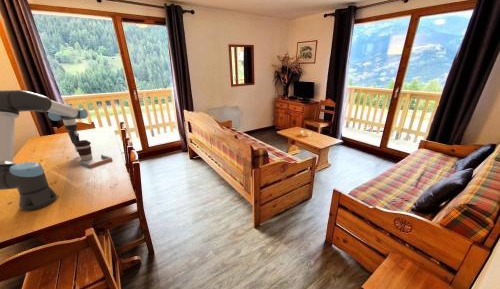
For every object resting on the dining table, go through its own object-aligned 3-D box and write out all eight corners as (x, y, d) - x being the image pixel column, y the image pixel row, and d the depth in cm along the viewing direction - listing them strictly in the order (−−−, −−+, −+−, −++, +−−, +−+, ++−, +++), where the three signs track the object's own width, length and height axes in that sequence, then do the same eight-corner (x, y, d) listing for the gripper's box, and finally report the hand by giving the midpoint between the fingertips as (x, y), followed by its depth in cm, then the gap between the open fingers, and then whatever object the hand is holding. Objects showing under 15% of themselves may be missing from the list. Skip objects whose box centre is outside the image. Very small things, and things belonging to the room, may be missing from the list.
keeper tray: (90, 167, 153) (89, 164, 152) (80, 164, 159) (79, 161, 159) (112, 160, 165) (111, 157, 165) (102, 157, 172) (101, 154, 171)
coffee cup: (86, 161, 164) (81, 143, 159) (75, 160, 166) (70, 142, 161) (97, 157, 173) (92, 139, 168) (87, 156, 175) (82, 139, 170)
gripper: (80, 124, 166) (87, 151, 174) (72, 122, 172) (79, 149, 180) (68, 126, 160) (77, 154, 168) (61, 124, 166) (69, 151, 174)
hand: (78, 151), depth 174 cm, fingers closed
